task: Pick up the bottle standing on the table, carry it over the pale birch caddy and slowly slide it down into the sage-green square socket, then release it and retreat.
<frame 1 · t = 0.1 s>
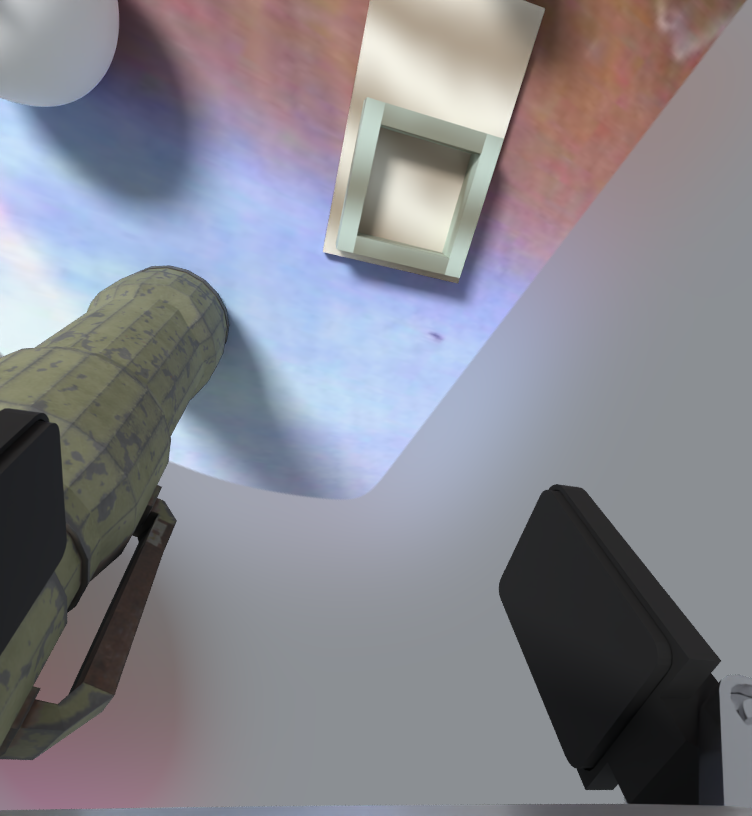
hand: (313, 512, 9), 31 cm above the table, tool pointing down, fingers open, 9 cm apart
thermos: (175, 320, 38), on the table
bottle caddy: (422, 140, 34), on the table
ornament: (54, 13, 29), on the table
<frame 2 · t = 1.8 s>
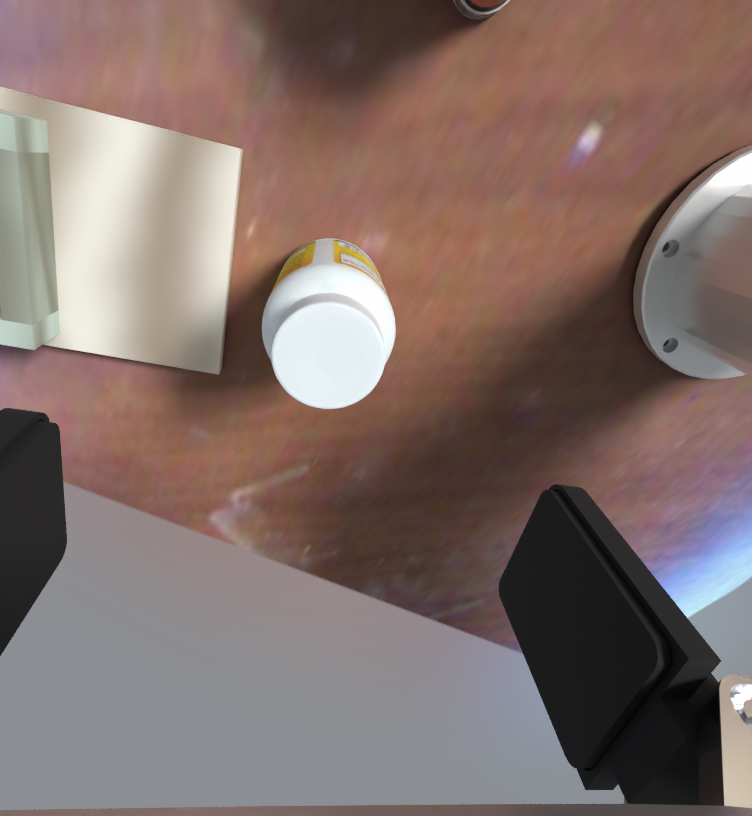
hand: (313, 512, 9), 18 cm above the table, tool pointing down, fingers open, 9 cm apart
bottle caddy: (34, 228, 22), on the table
supplement bottle: (329, 289, 25), on the table
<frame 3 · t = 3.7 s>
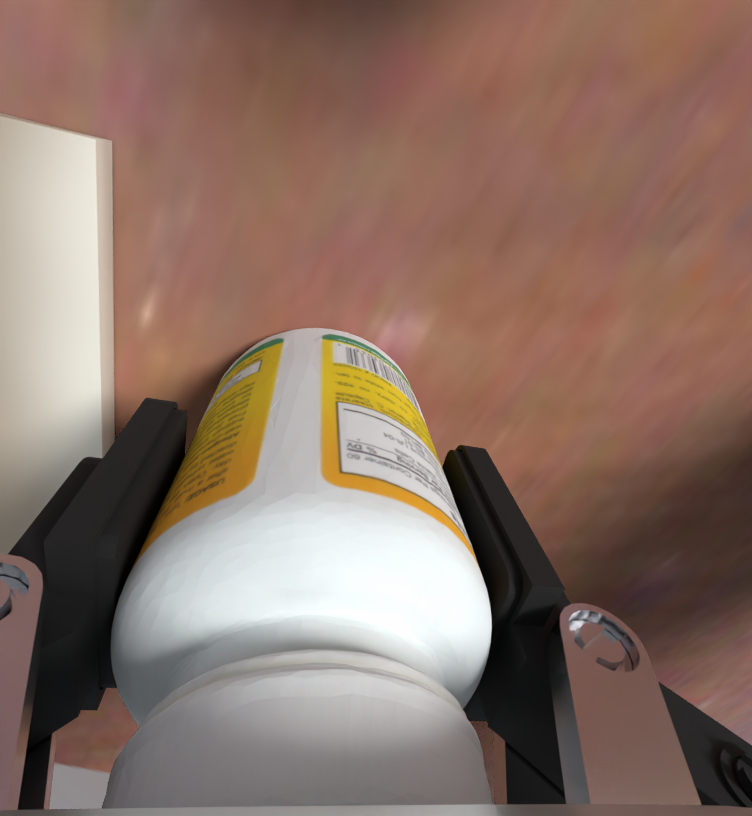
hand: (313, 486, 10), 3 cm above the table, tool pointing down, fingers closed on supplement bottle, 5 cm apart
supplement bottle: (315, 415, 13), on the table, touching gripper
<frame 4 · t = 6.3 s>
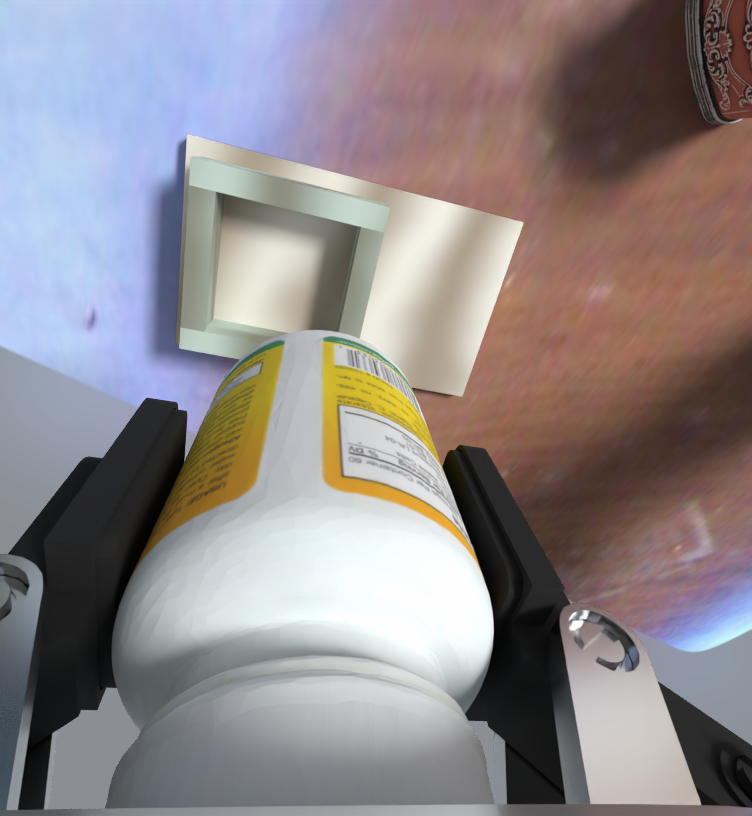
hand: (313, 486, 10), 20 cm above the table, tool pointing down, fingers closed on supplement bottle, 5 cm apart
lighter: (717, 38, 24), on the table
bottle caddy: (344, 281, 28), on the table
supplement bottle: (315, 417, 13), point 17 cm above the table, touching gripper
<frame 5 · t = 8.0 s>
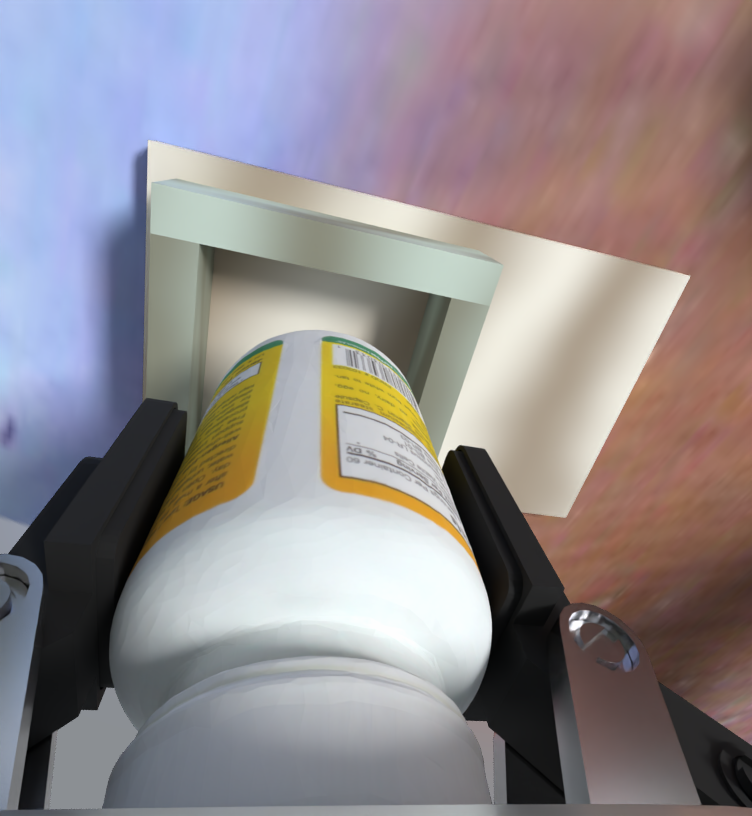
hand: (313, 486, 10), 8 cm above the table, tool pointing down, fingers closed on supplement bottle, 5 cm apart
bottle caddy: (403, 365, 18), on the table
supplement bottle: (314, 416, 13), point 5 cm above the table, touching gripper
when the fingers open (5 cm above the table, at t = 9.1 s): supplement bottle stays where it is, resting on bottle caddy.
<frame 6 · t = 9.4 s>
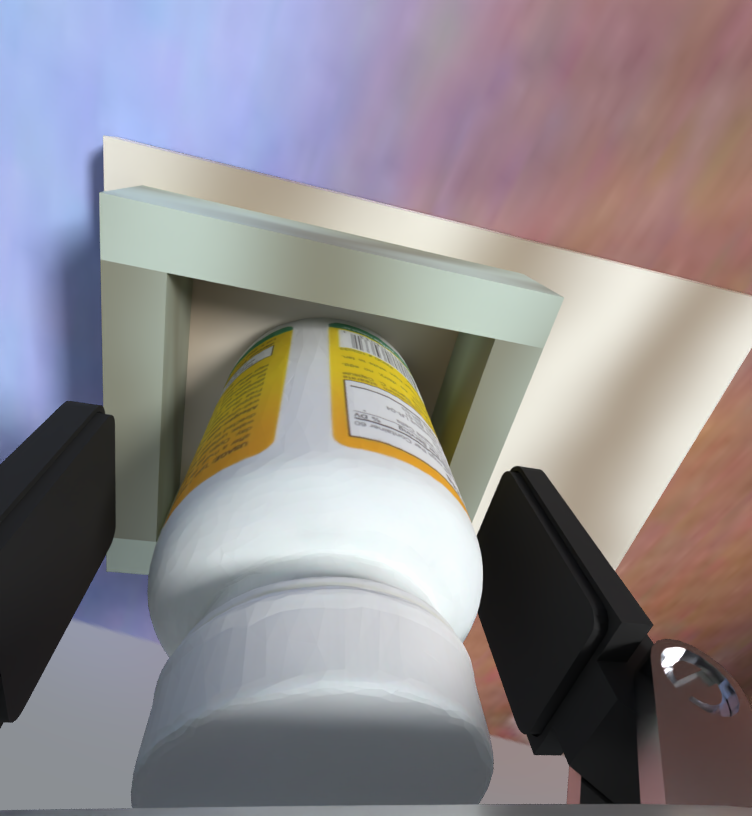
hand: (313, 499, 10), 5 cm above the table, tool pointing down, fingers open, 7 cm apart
bottle caddy: (425, 408, 15), on the table
supplement bottle: (320, 400, 14), point 1 cm above the table, touching bottle caddy
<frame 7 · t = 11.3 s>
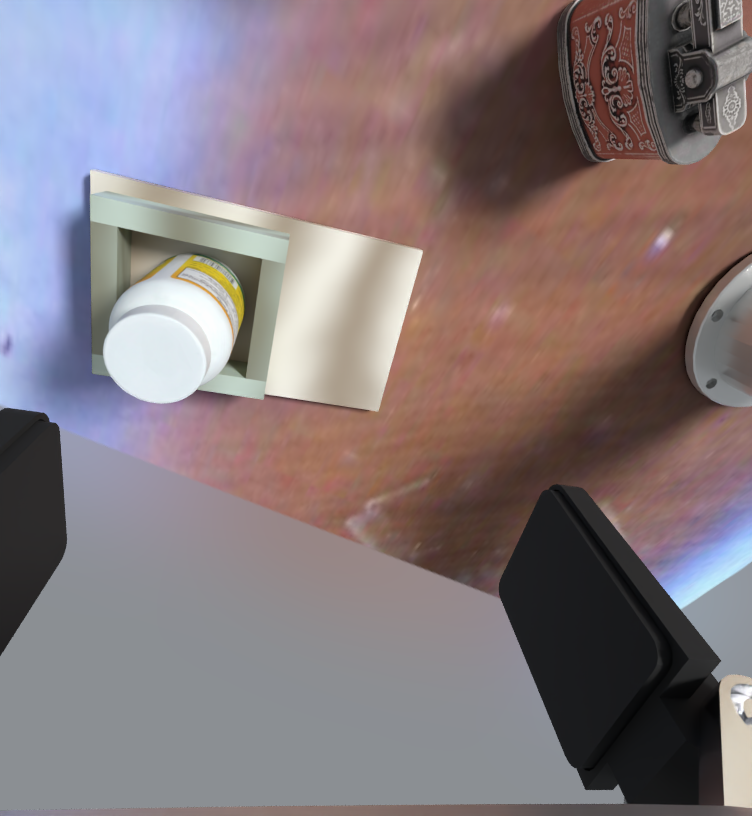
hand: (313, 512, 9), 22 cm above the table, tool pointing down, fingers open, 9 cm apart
lighter: (590, 85, 27), on the table
bottle caddy: (257, 305, 29), on the table
supplement bottle: (199, 297, 28), point 1 cm above the table, touching bottle caddy
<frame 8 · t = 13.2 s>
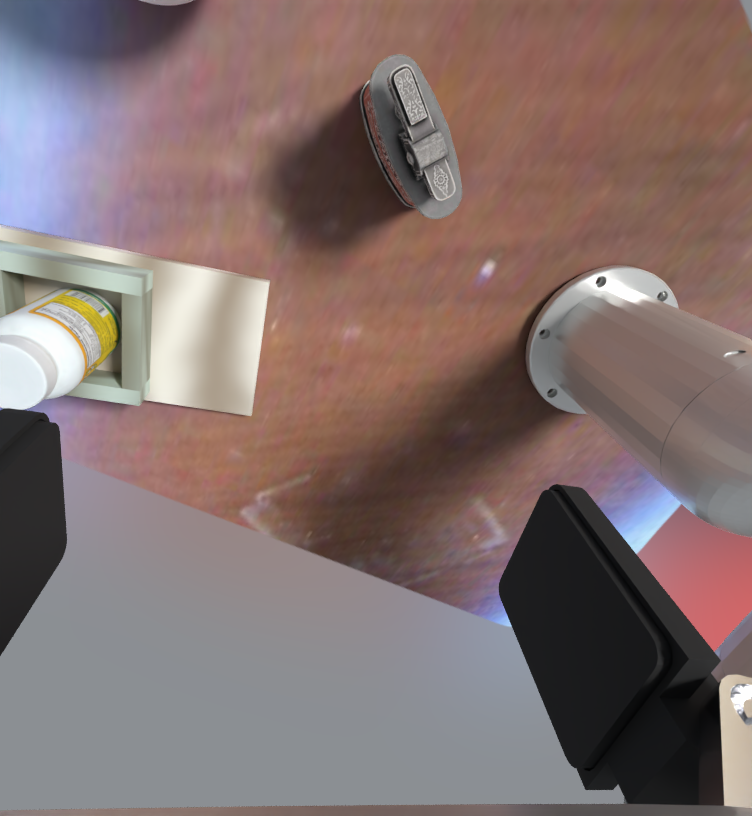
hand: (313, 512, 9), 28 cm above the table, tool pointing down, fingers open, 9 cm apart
lighter: (397, 145, 32), on the table
bottle caddy: (137, 328, 35), on the table
supplement bottle: (85, 322, 34), point 1 cm above the table, touching bottle caddy
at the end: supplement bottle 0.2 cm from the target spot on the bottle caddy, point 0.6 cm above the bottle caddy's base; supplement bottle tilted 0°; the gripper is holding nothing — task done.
